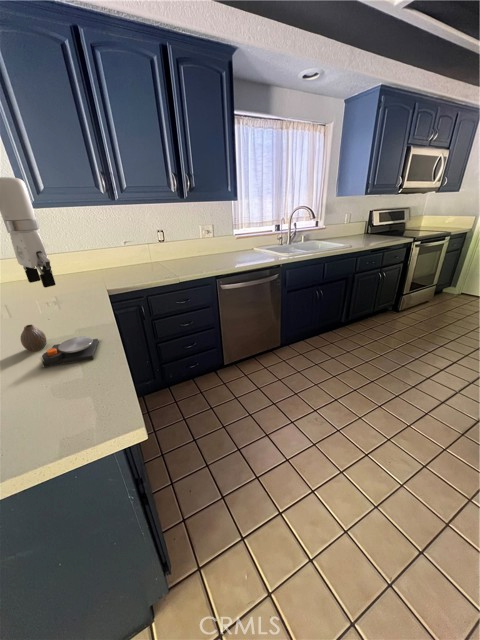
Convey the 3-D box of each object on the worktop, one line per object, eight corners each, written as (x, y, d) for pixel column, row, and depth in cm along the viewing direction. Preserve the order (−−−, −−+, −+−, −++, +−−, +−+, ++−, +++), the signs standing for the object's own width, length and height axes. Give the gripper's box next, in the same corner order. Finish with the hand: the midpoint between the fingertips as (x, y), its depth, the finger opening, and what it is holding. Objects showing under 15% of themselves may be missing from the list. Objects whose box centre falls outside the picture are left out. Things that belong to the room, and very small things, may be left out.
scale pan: (54, 355, 83) (54, 353, 83) (63, 340, 92) (62, 339, 91) (89, 349, 86) (89, 348, 86) (94, 336, 95) (94, 334, 94)
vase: (22, 355, 89) (12, 332, 85) (27, 345, 94) (18, 323, 91) (46, 350, 91) (38, 328, 88) (50, 341, 97) (42, 320, 93)
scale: (42, 367, 82) (39, 359, 81) (54, 348, 93) (51, 340, 92) (93, 359, 86) (91, 351, 85) (98, 341, 97) (96, 334, 96)
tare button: (46, 357, 83) (45, 353, 82) (49, 353, 85) (47, 348, 84) (56, 355, 83) (54, 351, 83) (58, 351, 86) (57, 347, 85)
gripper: (-6, 226, 77) (16, 282, 84) (20, 229, 68) (42, 291, 76) (24, 224, 83) (42, 277, 90) (51, 226, 74) (69, 285, 81)
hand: (42, 283), depth 83 cm, fingers open, 9 cm apart
